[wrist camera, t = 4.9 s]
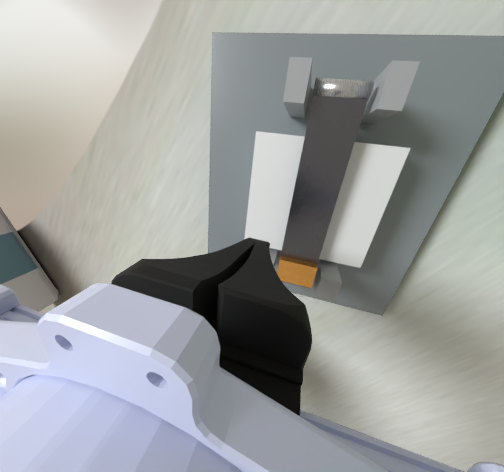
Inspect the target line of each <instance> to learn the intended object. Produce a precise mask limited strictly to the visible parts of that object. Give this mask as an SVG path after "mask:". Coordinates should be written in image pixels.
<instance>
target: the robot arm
mask: <svg viewBox="0 0 504 472" xmlns="http://www.w3.org/2000/svg"><path fill="white" fill-rule="evenodd" d="M269 248H270V243H269V242H267V241H262V240H258V239H254V238H247V239H244V240H242V241H240V242H238V243H236V244H234V245H231V246H229V247H226V248H224V249H221V250H218V251H215V252H212V253H208V254H204V255H199V256H193V257H187V258H177V259H141V260H140V261H138V262H137V263H135V264H134V265H132V266H131V267H129V268H127V269H126V270H124V271H123V272H121V273H120V274H118V275H117V276H115V278H114V279H113V280H112V283H111V284H102V283H95V284H93V285H91V286H90V287H88V288H87V289H85V290H83V291H82V292H80V293H78V294H77V295H75V296H73V297H72V298H70V299H69V300H67V301H65V302H64V303H62V304H60V305H59V306H57V307H55V308H54V309H52V310H51V311H49V312H47V313H46V314H44V313H41V312H38V311H36V310H33V309H30V308H28V307H25V306H22V305H20V301H19V298H18V296H17V295H16V293H15V292H14V291H13V290H12V289H10V288H9V287H6V286H3V285H1V284H0V472H464V471H461V470H458V469H456V468H453V467H450V466H448V465H445V464H442V463H440V462H437V461H434V460H432V459H429V458H426V457H424V456H421V455H418V454H416V453H413V452H410V451H408V450H405V449H402V448H400V447H397V446H394V445H392V444H389V443H386V442H384V441H381V440H379V439H376V438H373V437H371V436H368V435H365V434H363V433H360V432H357V431H355V430H352V429H349V428H347V427H344V426H341V425H339V424H336V423H333V422H331V421H328V420H325V419H323V418H320V417H317V416H315V415H312V414H309V413H307V412H304V411H301V410H300V393H301V385H302V381H303V368H304V365H305V362H306V360H307V357H308V355H309V352H310V350H311V344H312V334H311V327H310V322H309V318H308V314H307V310H306V307H305V305H304V304H303V303H302V302H301V301H300V300H299V299H298V298H297V297H295V296H294V295H293V294H292V293H291V292H290V291H289V290H288V289H287V288H286V286H285V285H284V284H283V282H282V281H281V280H280V278H279V276H278V275H277V273H276V271H275V268H274V266H273V263H272V260H271V256H270V251H269ZM467 472H504V466H503V465H500V464H497V463H493V462H479V463H476V464H474V465H473V466H471V467H470V469H469V470H468V471H467Z"/></svg>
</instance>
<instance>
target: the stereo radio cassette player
mask: <svg viewBox="0 0 504 472" xmlns="http://www.w3.org/2000/svg"><path fill="white" fill-rule="evenodd" d="M0 284H1V285H3V286H6V287H9V288H10V289H12V290H13V291H14V292H15V293H16V295H17V296H18V298H19V301H20V305H22V306H25V307H28V308H30V309H33V310H36V311H38V312H39V311H41V310H42V309H44V308H46V307H47V306H49V305H51V304H52V303H54V302H55V301H57V300H58V296H57V295H58V294H59V293H58V289H56V288H55V287H54V285H53V284H52V282H51V281H50V279H49V278H48V276H47V275H46V274H45V272H44V271H43V269H42V268H41V266H40V265H39V263H38V262H37V260H36V259H35V257H34V256H33V255H32V253H31V252H30V250H29V249H28V247H27V246H26V244H25V243H24V241H23V240H22V238H21V237H20V236H19V234H18V233H17V231H16V230H15V228H14V227H13V225H12V224H11V223H10V221H9V220H8V218H7V217H6V215H5V214H4V212H3V211H2V209H1V208H0Z"/></svg>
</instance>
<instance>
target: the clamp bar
mask: <svg viewBox="0 0 504 472" xmlns="http://www.w3.org/2000/svg"><path fill="white" fill-rule="evenodd" d="M373 86H374V81H370V80H351V79H332V78H316V80H315V85H314V90H313V95H312V104H311V109H310V114H309V119H308V124H307V129H306V134H305V139H304V143H303V148H302V153H301V158H300V163H299V168H298V173H297V178H296V183H295V188H294V192H293V197H292V202H291V207H290V212H289V217H288V222H287V227H286V232H285V237H284V242H283V246H282V251H281V256H280V260H279V265H278V270H277V275H278V276H279V278H280V280H281V281H282V282H286V283H290V284H294V285H298V286H302V287H306V288H312V285H313V282H314V278H315V275H316V272H317V269H318V267H317V264H318V260H319V257H320V254H321V251H322V247H323V244H324V241H325V237H326V234H327V231H328V228H329V224H330V221H331V218H332V215H333V211H334V208H335V205H336V202H337V198H338V195H339V192H340V188H341V185H342V182H343V179H344V175H345V172H346V169H347V166H348V162H349V159H350V156H351V153H352V149H353V146H354V143H355V139H356V136H357V133H358V130H359V126H360V123H361V120H362V117H363V113H364V110H365V107H366V103H367V102H368V100H369V98H370V95H371V93H372V90H373Z"/></svg>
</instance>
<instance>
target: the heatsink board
mask: <svg viewBox="0 0 504 472" xmlns="http://www.w3.org/2000/svg"><path fill="white" fill-rule="evenodd" d="M316 78H332V79H351V80H370V81H374V86H373V90H372V93H371V95H370V98H369V100H368V102H367V103H366V107H365V110H364V113H363V117H362V120H361V123H360V126H359V130H358V133H357V136H356V139H355V143H354V146H353V149H352V153H351V156H350V159H349V162H348V166H347V169H346V172H345V175H344V179H343V182H342V185H341V188H340V192H339V195H338V198H337V202H336V205H335V208H334V211H333V215H332V218H331V221H330V224H329V228H328V231H327V234H326V237H325V241H324V244H323V247H322V251H321V254H320V257H319V260H318V264H317V267H318V269H317V272H316V275H315V278H314V282H313V285H312V288H306V287H302V286H298V285H294V284H290V283H286V282H283V284H284V285H285V286H286V288H287V289H288V290H289V291H290V292H293V293H297V294H301V295H305V296H309V297H312V298H316V299H320V300H324V301H328V302H332V303H336V304H339V305H343V306H347V307H351V308H355V309H359V310H362V311H366V312H370V313H374V314H378V315H383V313H384V312H385V310H386V308H387V306H388V304H389V302H390V301H391V299H392V297H393V295H394V293H395V291H396V290H397V288H398V286H399V284H400V282H401V280H402V279H403V277H404V275H405V273H406V271H407V269H408V268H409V266H410V264H411V262H412V260H413V258H414V257H415V255H416V253H417V251H418V249H419V247H420V245H421V244H422V242H423V240H424V238H425V236H426V234H427V233H428V231H429V229H430V227H431V225H432V223H433V222H434V220H435V218H436V216H437V214H438V212H439V211H440V209H441V207H442V205H443V203H444V201H445V200H446V198H447V196H448V194H449V192H450V190H451V189H452V187H453V185H454V183H455V181H456V179H457V177H458V176H459V174H460V172H461V170H462V168H463V166H464V165H465V163H466V161H467V159H468V157H469V155H470V154H471V152H472V150H473V148H474V146H475V144H476V143H477V141H478V139H479V137H480V135H481V133H482V132H483V130H484V128H485V126H486V124H487V122H488V121H489V119H490V117H491V115H492V113H493V111H494V109H495V108H496V106H497V104H498V102H499V100H500V98H501V97H502V95H503V93H504V36H461V35H379V34H296V33H214V32H212V80H211V129H210V179H209V228H208V253H212V252H215V251H218V250H221V249H224V248H226V247H229V246H231V245H234V244H236V243H238V242H240V241H242V240H244V239H247V238H254V239H258V240H262V241H267V242H269V243H270V248H269V251H270V256H271V260H272V263H273V266H274V268H275V271H276V273H277V270H278V265H279V260H280V256H281V251H282V246H283V242H284V237H285V232H286V227H287V222H288V217H289V212H290V207H291V202H292V197H293V192H294V188H295V183H296V178H297V173H298V168H299V163H300V158H301V153H302V148H303V143H304V139H305V134H306V129H307V124H308V119H309V114H310V109H311V104H312V95H313V90H314V85H315V80H316Z"/></svg>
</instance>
